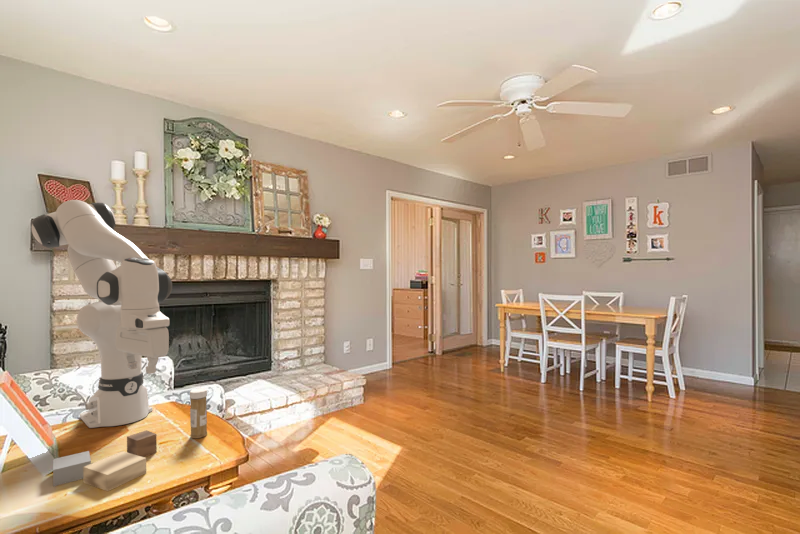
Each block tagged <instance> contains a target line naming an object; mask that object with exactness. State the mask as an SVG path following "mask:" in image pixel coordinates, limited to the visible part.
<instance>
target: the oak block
mask: <svg viewBox="0 0 800 534" xmlns="http://www.w3.org/2000/svg"><path fill="white" fill-rule="evenodd" d="M145 474H147V457H146V456H145V457H141V456H138V455H134V454H131V453H127V451H124V450H122V451H120V452H117V453H114V454H112V455H110V456H107V457H105V458H102V459H100V460H96V461H94V462H93V463H92V462H91V464H89V465H87V466H84V467H83V479H82V480H83V483H84V484H86V485H89V486H92V487H95V488H97V489H101V490H103V491H106V492H109V491H111V490H113V489H115V488H118V487H120V486H122V485H124V484H126V483H128V482H131V481H133V480H135V479H137V478H139V477H141V476H143V475H145Z"/></svg>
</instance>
